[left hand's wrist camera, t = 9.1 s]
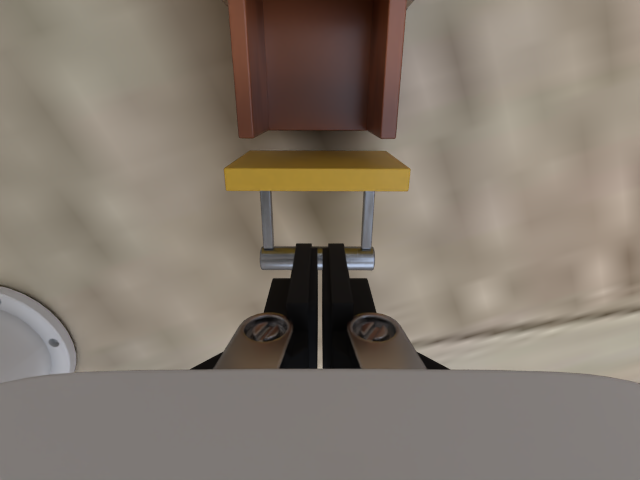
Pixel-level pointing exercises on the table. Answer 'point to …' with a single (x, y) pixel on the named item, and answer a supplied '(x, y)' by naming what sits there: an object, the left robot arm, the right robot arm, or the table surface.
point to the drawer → (317, 103)
